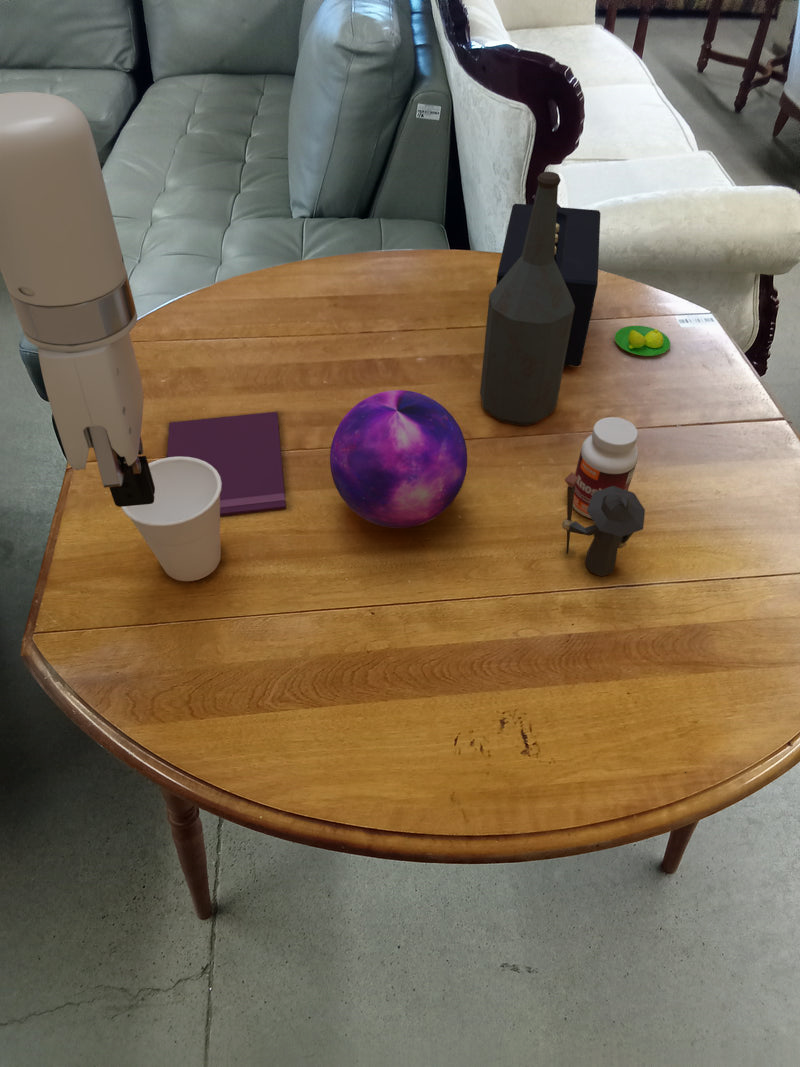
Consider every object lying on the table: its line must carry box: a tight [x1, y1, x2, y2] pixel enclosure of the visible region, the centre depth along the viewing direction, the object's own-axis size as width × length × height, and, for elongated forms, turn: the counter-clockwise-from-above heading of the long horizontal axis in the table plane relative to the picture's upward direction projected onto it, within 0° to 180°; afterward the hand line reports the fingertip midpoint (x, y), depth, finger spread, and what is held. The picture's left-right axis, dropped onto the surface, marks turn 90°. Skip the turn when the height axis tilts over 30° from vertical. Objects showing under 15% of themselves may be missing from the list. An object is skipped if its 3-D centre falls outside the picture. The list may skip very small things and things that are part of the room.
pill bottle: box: [573, 416, 639, 520], centre depth 85 cm, size 6×6×11 cm
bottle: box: [479, 171, 575, 426], centre depth 91 cm, size 10×10×30 cm
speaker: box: [495, 203, 601, 368], centre depth 109 cm, size 22×13×15 cm, turn 169°
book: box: [166, 411, 287, 517], centre depth 93 cm, size 14×18×1 cm
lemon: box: [614, 325, 671, 357], centre depth 111 cm, size 8×8×3 cm
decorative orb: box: [329, 389, 468, 529], centre depth 83 cm, size 15×15×15 cm
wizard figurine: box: [561, 471, 646, 577], centre depth 78 cm, size 8×6×12 cm
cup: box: [120, 457, 222, 582], centre depth 78 cm, size 10×10×11 cm
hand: (136, 498), depth 65 cm, fingers closed
